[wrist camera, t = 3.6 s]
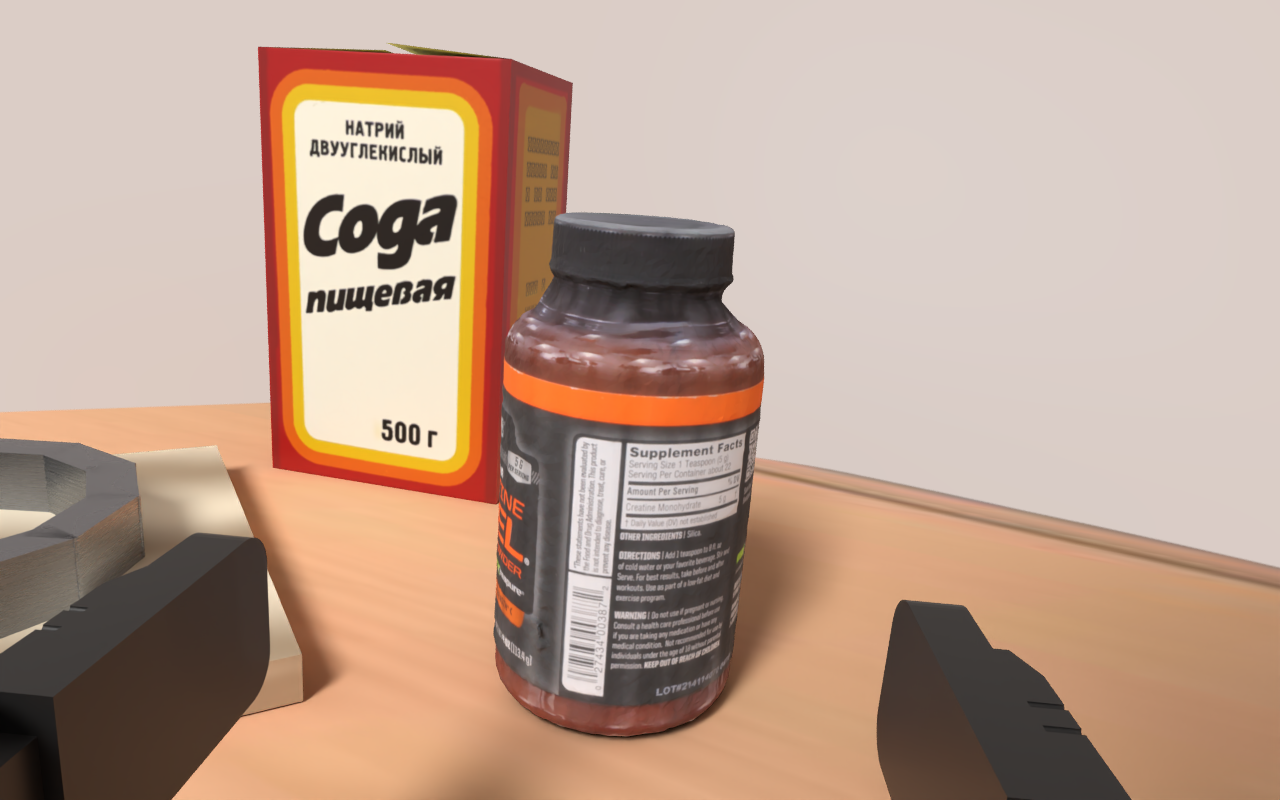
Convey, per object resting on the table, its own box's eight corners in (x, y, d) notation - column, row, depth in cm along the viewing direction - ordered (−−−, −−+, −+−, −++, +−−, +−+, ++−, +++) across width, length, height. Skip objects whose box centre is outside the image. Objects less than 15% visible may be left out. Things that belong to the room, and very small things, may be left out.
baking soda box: (272, 467, 34) (257, 35, 30) (361, 425, 40) (358, 62, 36) (496, 504, 32) (511, 47, 28) (553, 454, 38) (573, 73, 34)
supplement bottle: (482, 622, 24) (496, 203, 21) (688, 610, 25) (726, 218, 22) (504, 763, 18) (525, 218, 15) (765, 737, 20) (829, 238, 17)
